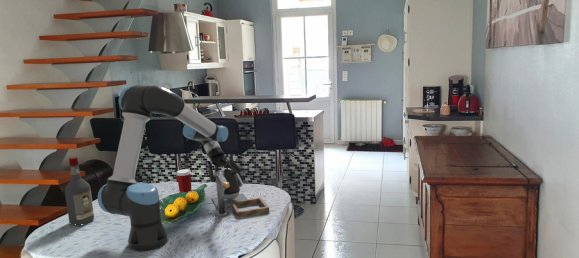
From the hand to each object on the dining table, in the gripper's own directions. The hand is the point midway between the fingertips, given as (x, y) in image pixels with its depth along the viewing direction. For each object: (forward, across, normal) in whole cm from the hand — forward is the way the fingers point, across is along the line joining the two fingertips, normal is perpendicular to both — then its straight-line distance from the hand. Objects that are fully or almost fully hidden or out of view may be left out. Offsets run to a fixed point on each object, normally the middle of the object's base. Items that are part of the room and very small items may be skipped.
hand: (232, 187), depth 223 cm
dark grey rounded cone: (+2, 0, +6) cm, 7 cm away
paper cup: (-13, -13, +24) cm, 30 cm away
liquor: (-16, -62, +27) cm, 70 cm away
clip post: (+12, -12, -1) cm, 16 cm away
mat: (+3, 0, +8) cm, 8 cm away
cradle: (+15, +1, -4) cm, 15 cm away
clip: (+4, -15, -19) cm, 24 cm away
